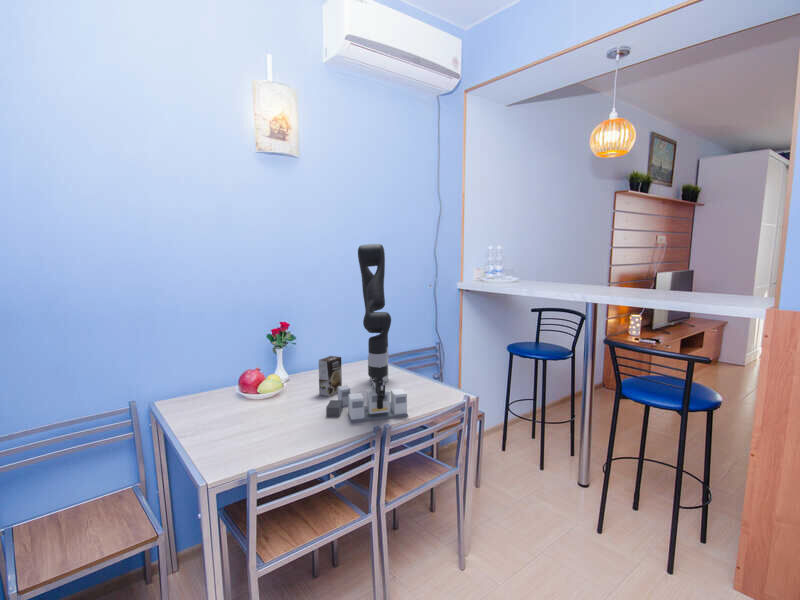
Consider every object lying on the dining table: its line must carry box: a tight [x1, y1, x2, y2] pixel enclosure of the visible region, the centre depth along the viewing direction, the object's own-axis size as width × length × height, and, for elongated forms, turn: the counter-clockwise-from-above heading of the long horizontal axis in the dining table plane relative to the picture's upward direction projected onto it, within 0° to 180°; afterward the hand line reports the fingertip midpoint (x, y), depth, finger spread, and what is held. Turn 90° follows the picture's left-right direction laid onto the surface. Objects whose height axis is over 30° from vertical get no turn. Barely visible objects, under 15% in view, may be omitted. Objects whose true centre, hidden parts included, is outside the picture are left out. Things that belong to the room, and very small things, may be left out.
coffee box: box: [318, 355, 343, 397], centre depth 188 cm, size 9×6×16 cm
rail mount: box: [347, 388, 409, 424], centre depth 163 cm, size 9×22×9 cm, turn 105°
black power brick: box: [325, 399, 344, 418], centre depth 166 cm, size 8×5×4 cm, turn 178°
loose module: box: [366, 387, 391, 414], centre depth 161 cm, size 5×8×8 cm, turn 106°
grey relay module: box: [337, 384, 351, 407], centre depth 175 cm, size 5×4×7 cm
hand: (378, 405), depth 162 cm, fingers closed on loose module, 5 cm apart
